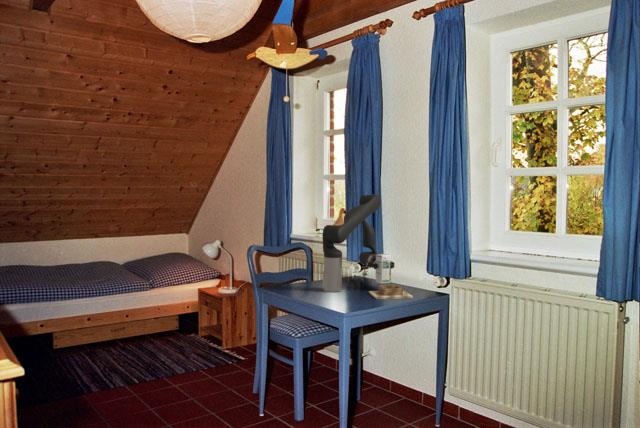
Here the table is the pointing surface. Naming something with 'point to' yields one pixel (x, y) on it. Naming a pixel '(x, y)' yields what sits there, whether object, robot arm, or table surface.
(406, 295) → the socket caddy
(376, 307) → the table surface
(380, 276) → the syrup box
